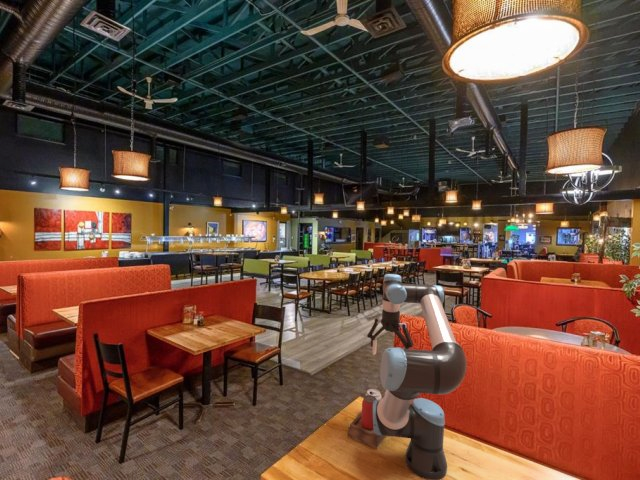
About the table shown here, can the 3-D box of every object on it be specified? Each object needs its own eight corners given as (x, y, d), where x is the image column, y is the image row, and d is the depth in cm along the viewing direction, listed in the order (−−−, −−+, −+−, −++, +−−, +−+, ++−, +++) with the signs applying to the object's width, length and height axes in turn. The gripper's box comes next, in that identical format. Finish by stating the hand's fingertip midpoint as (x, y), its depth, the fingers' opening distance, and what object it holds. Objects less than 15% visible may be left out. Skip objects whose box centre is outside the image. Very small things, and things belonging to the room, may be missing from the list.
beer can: (376, 431, 132) (377, 403, 132) (360, 429, 134) (361, 401, 133) (376, 422, 139) (378, 395, 138) (361, 420, 140) (362, 393, 140)
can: (364, 411, 154) (365, 387, 154) (380, 413, 153) (381, 388, 153) (364, 420, 147) (365, 395, 146) (381, 422, 146) (382, 397, 145)
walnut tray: (388, 432, 139) (389, 420, 138) (376, 449, 128) (377, 436, 128) (361, 421, 146) (362, 410, 146) (348, 436, 135) (348, 424, 135)
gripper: (422, 313, 134) (419, 362, 135) (368, 303, 147) (366, 348, 148) (417, 317, 128) (414, 368, 129) (361, 306, 141) (359, 353, 142)
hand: (388, 358), depth 138 cm, fingers open, 13 cm apart
